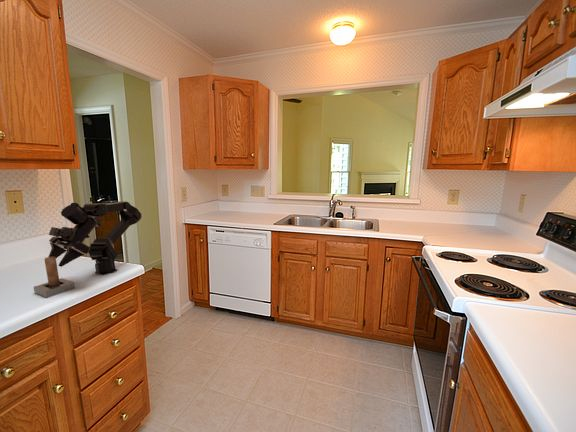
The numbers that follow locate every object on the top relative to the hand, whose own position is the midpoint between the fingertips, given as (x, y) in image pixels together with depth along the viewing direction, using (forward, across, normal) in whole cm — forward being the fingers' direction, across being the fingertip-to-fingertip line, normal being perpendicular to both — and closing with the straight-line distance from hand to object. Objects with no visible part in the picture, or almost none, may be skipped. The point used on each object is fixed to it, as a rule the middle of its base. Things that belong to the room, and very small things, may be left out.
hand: (53, 264), depth 103 cm
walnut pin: (+8, 0, +7) cm, 10 cm away
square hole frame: (+8, 0, +7) cm, 10 cm away
